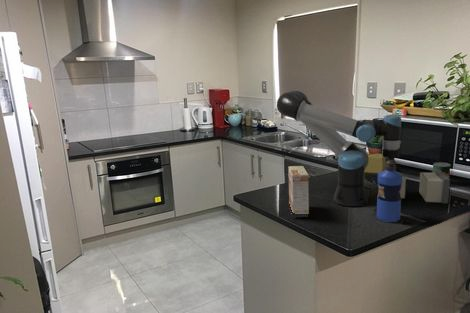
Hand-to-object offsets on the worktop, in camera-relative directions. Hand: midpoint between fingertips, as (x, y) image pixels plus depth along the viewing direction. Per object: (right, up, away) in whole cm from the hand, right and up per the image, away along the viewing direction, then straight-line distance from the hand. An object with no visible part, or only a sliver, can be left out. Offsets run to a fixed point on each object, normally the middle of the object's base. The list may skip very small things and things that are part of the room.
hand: (389, 194), depth 179 cm
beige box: (+2, 0, 0) cm, 2 cm away
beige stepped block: (+19, -1, -5) cm, 19 cm away
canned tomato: (+32, +4, +12) cm, 34 cm away
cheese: (+10, +10, +43) cm, 45 cm away
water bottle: (-11, -7, -26) cm, 29 cm away
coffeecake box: (-46, -6, -14) cm, 49 cm away
